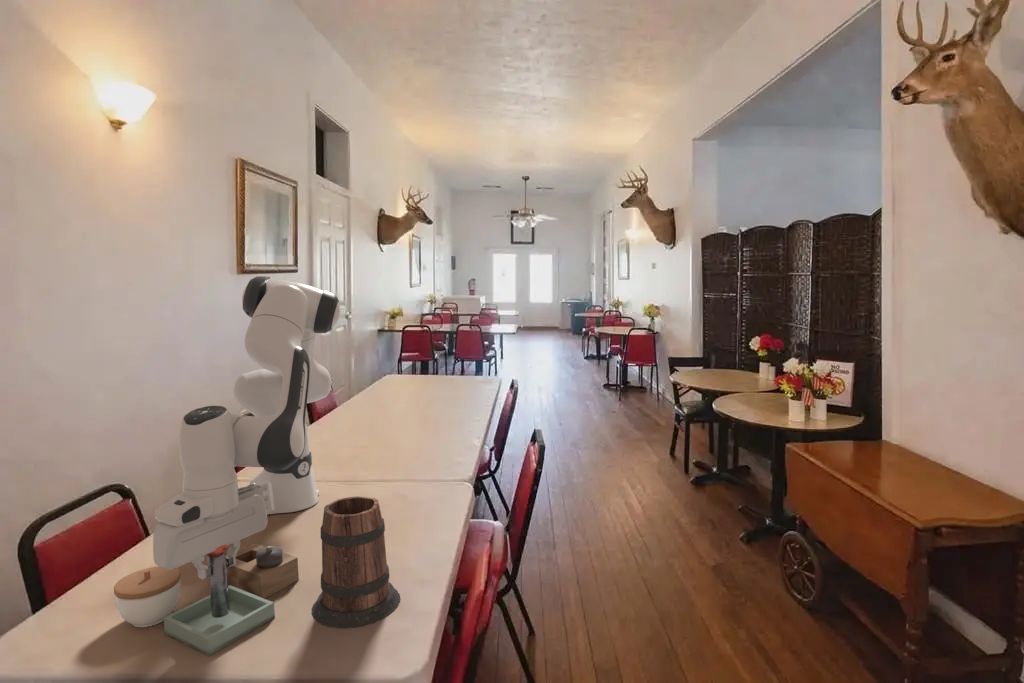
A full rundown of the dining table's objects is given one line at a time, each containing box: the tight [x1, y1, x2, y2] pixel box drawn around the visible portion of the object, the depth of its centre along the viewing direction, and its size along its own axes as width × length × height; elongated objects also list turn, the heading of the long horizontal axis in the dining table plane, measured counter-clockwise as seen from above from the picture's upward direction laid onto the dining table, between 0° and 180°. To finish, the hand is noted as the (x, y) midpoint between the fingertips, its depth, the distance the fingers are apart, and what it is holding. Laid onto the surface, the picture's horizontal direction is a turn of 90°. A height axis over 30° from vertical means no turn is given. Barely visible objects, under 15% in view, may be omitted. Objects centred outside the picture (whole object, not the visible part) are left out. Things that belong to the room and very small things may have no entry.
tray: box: [163, 585, 276, 657], centre depth 112 cm, size 13×13×3 cm
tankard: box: [311, 496, 402, 630], centre depth 121 cm, size 24×17×20 cm
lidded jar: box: [113, 565, 181, 628], centre depth 115 cm, size 11×11×9 cm
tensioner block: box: [227, 543, 300, 599], centre depth 128 cm, size 14×9×8 cm, turn 59°
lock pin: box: [206, 544, 230, 618], centre depth 111 cm, size 4×4×13 cm
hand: (217, 571), depth 111 cm, fingers closed on lock pin, 3 cm apart
